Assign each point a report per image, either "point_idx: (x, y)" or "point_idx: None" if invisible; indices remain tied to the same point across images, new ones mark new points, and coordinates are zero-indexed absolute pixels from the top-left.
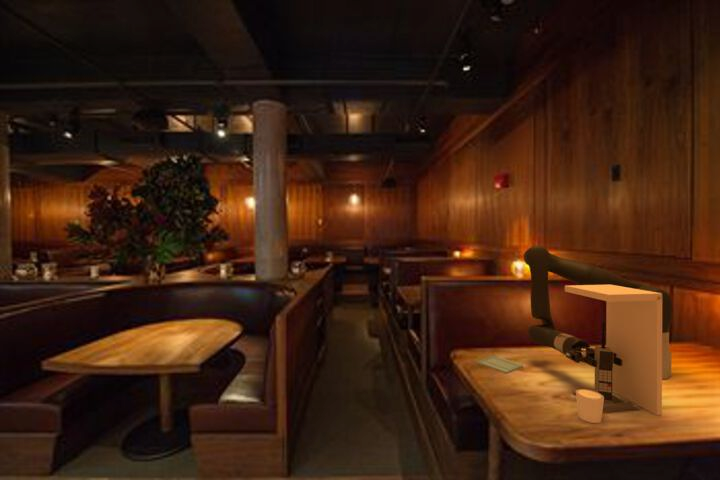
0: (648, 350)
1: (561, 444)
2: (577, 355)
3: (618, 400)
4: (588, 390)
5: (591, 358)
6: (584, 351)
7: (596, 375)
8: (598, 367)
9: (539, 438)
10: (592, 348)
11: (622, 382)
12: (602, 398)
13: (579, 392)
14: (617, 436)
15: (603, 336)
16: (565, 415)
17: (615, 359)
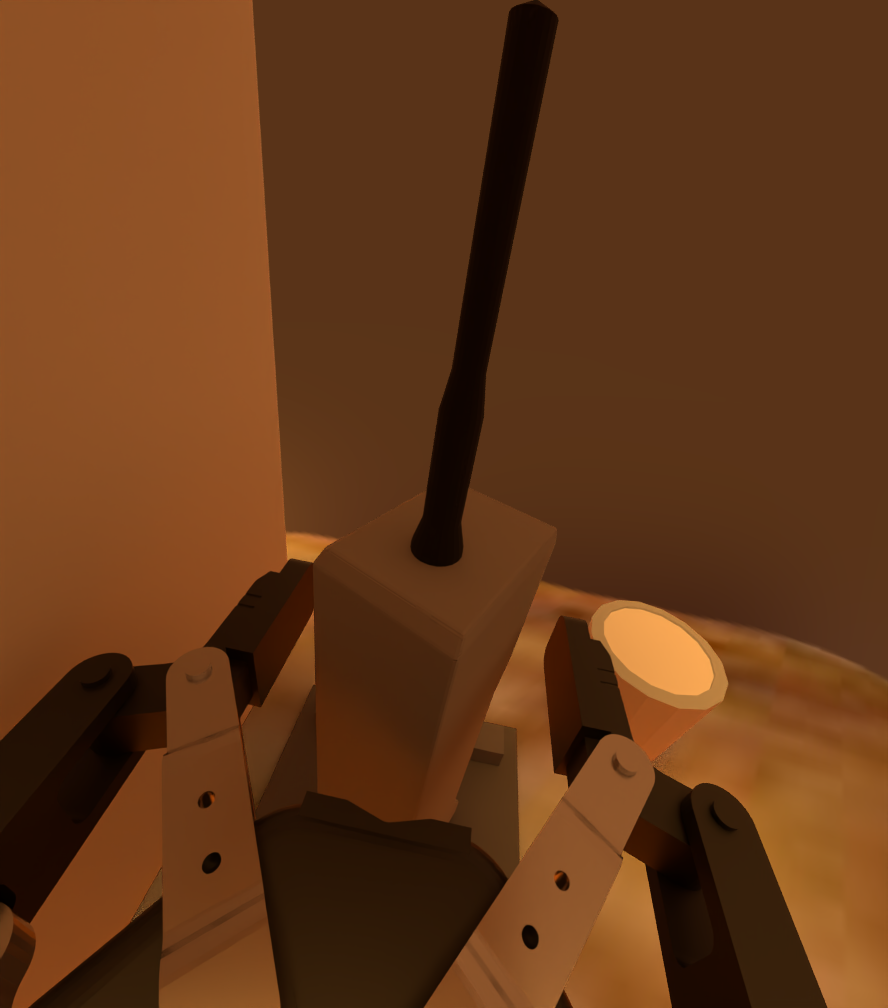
0: (236, 358)
1: (781, 639)
2: (731, 797)
3: (293, 800)
4: (639, 678)
5: (584, 661)
6: (559, 853)
7: (447, 790)
8: (497, 684)
9: (856, 681)
10: (251, 932)
11: (137, 809)
12: (614, 602)
13: (706, 678)
14: (581, 610)
15: (477, 378)
16: (721, 776)
17: (291, 611)
